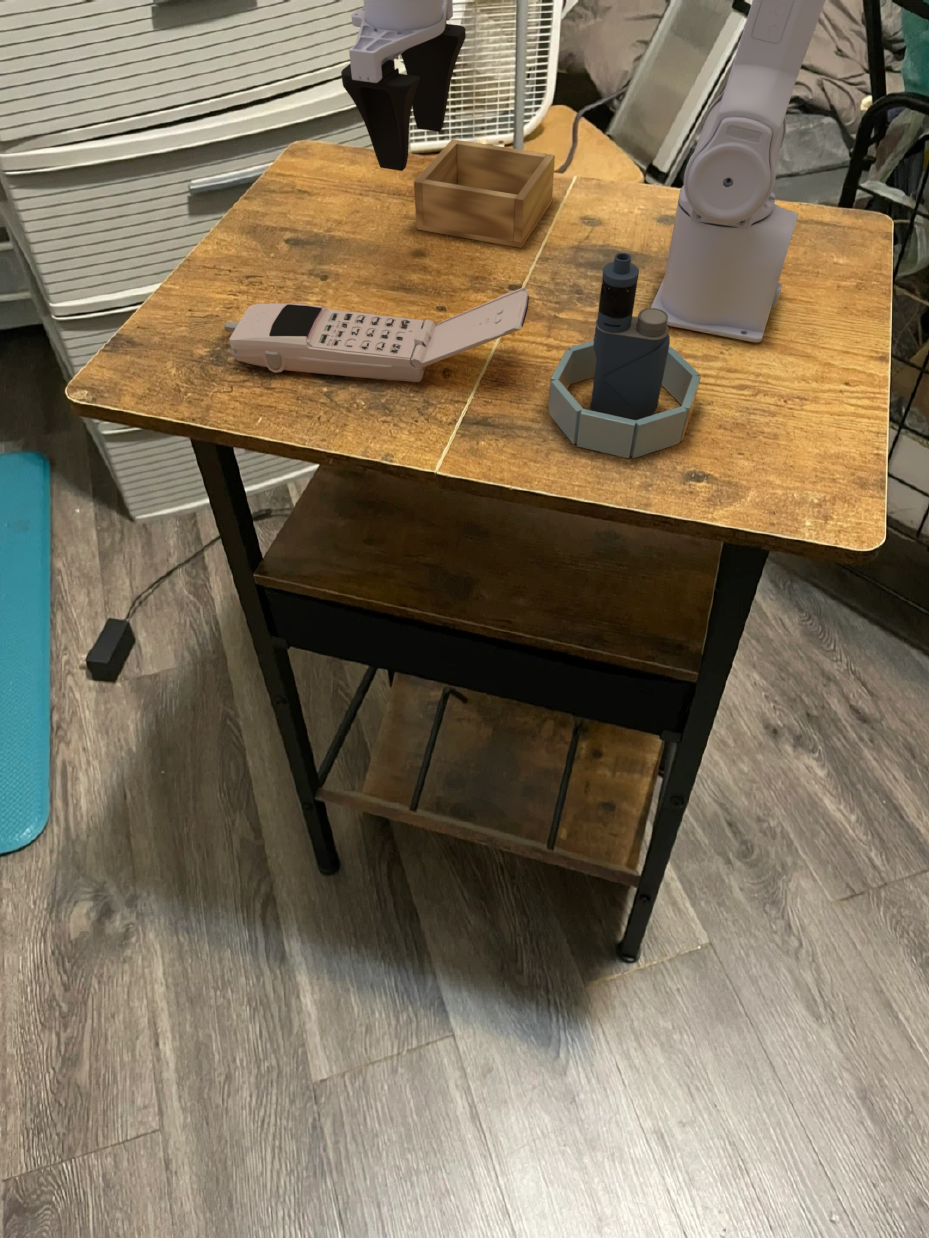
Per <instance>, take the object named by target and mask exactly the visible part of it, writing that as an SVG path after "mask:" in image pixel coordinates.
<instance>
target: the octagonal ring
mask: <svg viewBox="0 0 929 1238" xmlns="http://www.w3.org/2000/svg"><path fill="white" fill-rule="evenodd" d="M595 367H596V354H595V351H594V341H593V340H590V341H586V342H583V343H578V344H575V345H572V346H569V347H568V349H567V348H566V349H565V350H564V353H563V354H562V356H561V358H560V360H559V361H558V364H557V365H556V367H555V370H554V371H553V373H552V375H551V377H550V382H549V383H550V384H549V396H548V407H547V408H548V415H549V416H550V418H551V419H552V420H553V421H554V423H555V424H556V425H557V427H559V429H560V430H561V431H562V432H563V434H564V435H565V436H566V437H567V439H568V441H570V442H571V444H572V445H576V447H578V448H581V449H585V450H586V449H587V450H591V451H594V452H599V453H603V454H608V455H612V456H616V457H621V458H625V459H630V458H632V459H635V458H639V457H642V456H645V455H648V454H652V453H654V452H657V451H660V450H664V449H667V448H670V447H673V446H677V445H679V444H680V442H683V440H684V438H685V434H686V431H687V428H688V426H689V423H690V420H691V417H692V414H693V411H694V407H695V403H696V398H697V394H698V390H699V387H700V383H701V376H700V374H701V373H699V372H698V371H697V370H696V369H695V368H694V367H693V366H692V365H691V364H690V363H689V362H688V361H687V360H686V359H685V358H684V357H683V356H682V355H681V354H680V353H679V352H677V350H675V348H673V347H672V346H670V345H669V349H668V354H667V360H666V365H665V370H664V375H663V380H662V385H661V387H663V388H664V389H665V390H666V391H667V392H668V393H669V394H670V395H671V396H672V398H673V399H675V400H676V401H677V402H678V403H679V405H681V406H678V407H675V408H671V409H668V410H665V411H661V412H658V413H654V414H653V415H651V416H648V417H645V418H642V419H638V420H632V419H627V418H623V417H618V416H614V415H609V414H605V413H600V412H596V411H591V410H590V409H587V408H583V407H582V405H581V404H580V402H579V401H577V400H576V398H575V397H574V396H573V395H572V394H571V392H570V391H569V390H568V389H569V387H570V385H571V384H576V383H579V382H582V381H585V380H589V379H593V378H594V375H595Z"/></svg>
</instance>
